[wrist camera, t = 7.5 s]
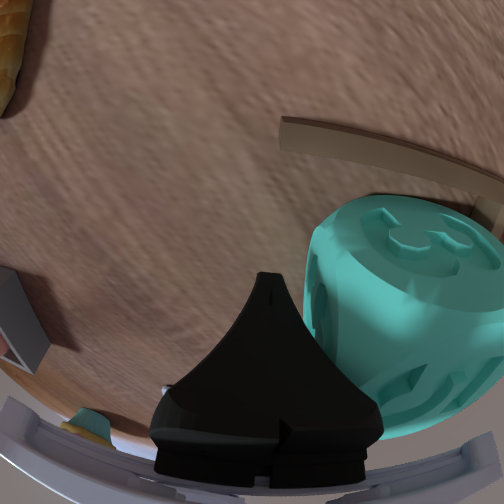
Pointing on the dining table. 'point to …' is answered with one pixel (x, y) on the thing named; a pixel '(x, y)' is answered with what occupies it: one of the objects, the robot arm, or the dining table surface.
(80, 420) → the cupcake
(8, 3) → the pastry
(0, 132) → the dining table surface
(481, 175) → the frame
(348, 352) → the decorative dice
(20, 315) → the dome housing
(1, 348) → the pop dome
